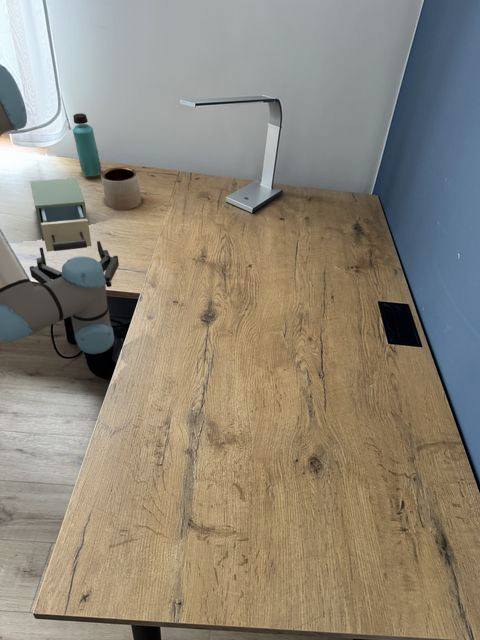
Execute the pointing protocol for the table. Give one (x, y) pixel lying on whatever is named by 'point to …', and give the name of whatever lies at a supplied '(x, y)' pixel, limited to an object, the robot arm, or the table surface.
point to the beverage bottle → (86, 146)
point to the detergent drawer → (65, 228)
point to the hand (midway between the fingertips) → (71, 248)
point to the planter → (121, 188)
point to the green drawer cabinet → (56, 196)
